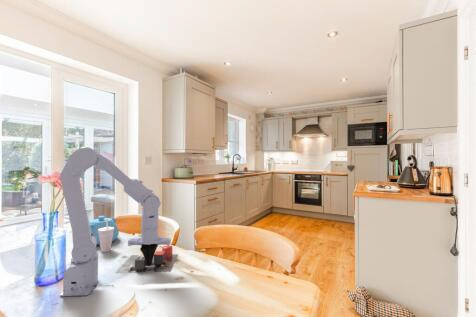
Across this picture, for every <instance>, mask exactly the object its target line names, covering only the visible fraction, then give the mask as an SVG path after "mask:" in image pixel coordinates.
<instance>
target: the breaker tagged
mask: <svg viewBox="0 0 476 317" xmlns="http://www.w3.org/2000/svg"><path fill="white" fill-rule="evenodd" d="M164 261H165V251H162V250H161V251H160V250H157V251H155V253H154V264H163V262H164Z"/></svg>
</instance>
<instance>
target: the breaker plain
mask: <svg viewBox="0 0 476 317" xmlns="http://www.w3.org/2000/svg"><path fill="white" fill-rule="evenodd" d="M146 266H147V265H146V261H145V258H144V257H137V258H136V260H135V269H145V267H146Z"/></svg>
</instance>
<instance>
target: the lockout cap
mask: <svg viewBox="0 0 476 317" xmlns="http://www.w3.org/2000/svg"><path fill="white" fill-rule="evenodd" d="M161 251H165V259H170V258H172V254H173V246H172V245H171V244H170V245H163V246H162V247H161Z"/></svg>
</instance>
